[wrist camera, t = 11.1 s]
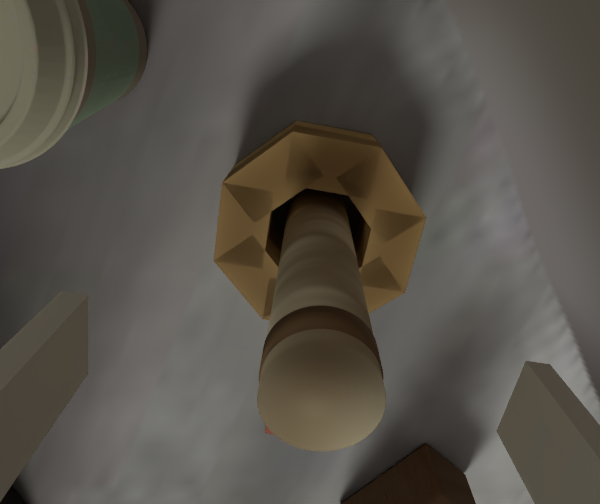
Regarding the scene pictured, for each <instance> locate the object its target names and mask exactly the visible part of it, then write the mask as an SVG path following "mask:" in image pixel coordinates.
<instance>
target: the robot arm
mask: <svg viewBox="0 0 600 504" xmlns="http://www.w3.org/2000/svg"><path fill="white" fill-rule="evenodd" d="M87 375H88V295H83V294H77V293H70V292H63V291H61V292H60V293H59V294H58V295H57V296H56V297H54V298H53V299H52V300H51V301H50V302H49V303H48V304H47V305H46V306H45V307H44V308H43V309H42V310H41V311H40V312H39V313H38V314H37V315H36V316H35V317H34V318H32V319H31V320H30V321H29V322H28V323H27V324H26V325H25V326H24V327H23V328H22V329H21V330H20V331H19V332H18V333H17V334H16V335H15V336H14V337H13V338H12V339H10V340H9V341H8V342H7V343H6V344H5V345H4V346H3V347H2V348H1V349H0V504H24V503H23V502H22V500H21V499H20V498H19V496H18V495H17V494H16V493H15V492H14V491H13V490H12V489H11V488H10V487H11V486H12V484H13V483H14V481H15V480H16V478H17V477H18V475H19V474H20V472H21V471H22V470H23V468H24V467H25V465H26V464H27V462H28V461H29V459H30V458H31V456H32V455H33V453H34V452H35V451H36V449H37V448H38V446H39V445H40V443H41V442H42V440H43V439H44V437H45V436H46V434H47V433H48V432H49V430H50V429H51V427H52V426H53V424H54V423H55V421H56V420H57V418H58V417H59V415H60V414H61V413H62V411H63V410H64V408H65V407H66V405H67V404H68V402H69V401H70V399H71V398H72V396H73V395H74V394H75V392H76V391H77V389H78V388H79V386H80V385H81V383H82V382H83V380H84V379H85V377H86V376H87ZM497 433H498V435H499V436H500V438H501V440H502V442H503V444H504V446H505V448H506V450H507V452H508V454H509V455H510V457H511V459H512V461H513V463H514V465H515V467H516V469H517V471H518V473H519V474H520V476H521V478H522V480H523V482H524V484H525V486H526V488H527V490H528V492H529V493H530V495H531V497H532V499H533V501H534V503H535V504H600V425H599V424H598V423H597V421H596V420H595V419H594V418H593V416H592V415H591V414H590V413H589V412H588V410H587V409H586V408H585V407H584V405H583V404H582V403H581V402H580V401H579V399H578V398H577V397H576V396H575V394H574V393H573V392H572V391H571V390H570V388H569V387H568V386H567V385H566V383H565V382H564V381H563V380H562V379H561V377H560V376H559V375H558V374H557V372H556V371H555V370H554V369H553V368H552V366H551V365H550V364H544V363H537V362H530V361H526V362H525V364H524V367H523V369H522V371H521V374H520V376H519V379H518V381H517V383H516V386H515V388H514V391H513V393H512V396H511V398H510V400H509V403H508V405H507V408H506V410H505V412H504V415H503V417H502V420H501V422H500V424H499V427H498V429H497Z"/></svg>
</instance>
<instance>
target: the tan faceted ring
mask: <svg viewBox="0 0 600 504" xmlns="http://www.w3.org/2000/svg"><path fill="white" fill-rule="evenodd" d="M305 188H308V189H314V190H319V191H325V192H331V193H337V194H343V195H348V196H349V197H350V199H351V200H352V202H353V203H354V205H355V206H356V208H357V209H358V210H359V212H360V213H361V217H360V222H359V226H358V230H357V235H356V239H354V240H353V244H354V248H355V253H356V258H357V262H358V267H359V272H360V276H361V281H362V286H363V290H364V295H365V300H366V304H367V309H368V314H369V313H370V312H372V311H374V310H376V309H377V308H379V307H381V306H383V305H384V304H386V303H388V302H389V301H391V300H393V299H395V298H396V297H398V296H400V295H401V294H403V293H405V290H406V287H407V283H408V280H409V276H410V273H411V269H412V266H413V262H414V259H415V256H416V252H417V249H418V245H419V242H420V238H421V235H422V231H423V228H424V224H425V221H426V216H425V215H424V213H423V212H422V210H421V209H420V207H419V205H418V204H417V202H416V201H415V199H414V198H413V196H412V194H411V193H410V191H409V190H408V188H407V187H406V185H405V183H404V182H403V180H402V179H401V177H400V176H399V174H398V172H397V171H396V169H395V168H394V166H393V165H392V163H391V162H390V160H389V158H388V157H387V155H386V154H385V152H384V151H383V149H382V147H381V146H380V145H379V143H378V142H377V141H376V139H375V138H374V137H373V135H372V134H367V133H362V132H356V131H351V130H345V129H339V128H334V127H328V126H323V125H317V124H311V123H306V122H300V121H295V122H293V123H292V124H290V125H289V126H288V127H286V128H285V129H284V130H282V131H281V132H280V133H278V134H277V135H275V136H274V137H273V138H271V139H270V140H269V141H267V142H266V143H264V144H263V145H262V146H260V147H259V148H258V149H256V150H255V151H253V152H252V153H251V154H249V155H248V156H247V157H245V158H244V159H242V160H241V161H240V162H238V163H237V164H236V165H235V166H234V167H233V169H232V170H231V171H230V173H229V174H228V175H227V177H226V178H225V180H224V181H223V182H222V190H221V199H220V208H219V218H218V227H217V236H216V245H215V254H214V262H215V263H216V264H217V265H218V266H219V268H220V269H221V270H222V271H223V272H224V274H225V275H226V276H227V277H228V278H229V280H230V281H231V282H232V283H233V284H234V286H235V287H236V288H237V289H238V290H239V292H240V293H241V294H242V295H243V296H244V298H245V299H246V300H247V301H248V302H249V303H250V305H251V306H252V307H253V308H254V309H255V311H256V312H257V313H258V314H259V315H260V317H261V318H262V319H266V320H270V316H271V310H272V304H273V298H274V292H275V286H276V279H277V273H278V267H279V261H280V255H281V249H282V243H283V239H282V238H281V236H280V235H279V234H278V232H277V231H276V230H275V228H274V227H273V226H272V225H271V224H272V218H273V211H274V209H276V208H277V207H279V206H280V205H282V204H283V203H285V202H286V201H287V200H289V199H290V198H292V197H293V196H295V195H296V194H298V193H299V192H301V191H302V190H304V189H305Z"/></svg>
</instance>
